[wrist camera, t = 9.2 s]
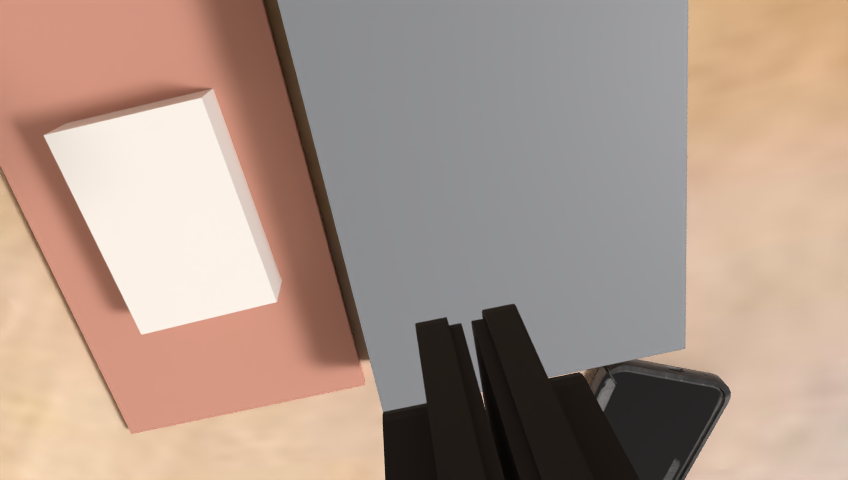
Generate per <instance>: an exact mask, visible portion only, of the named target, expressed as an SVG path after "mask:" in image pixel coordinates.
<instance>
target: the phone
mask: <svg viewBox="0 0 848 480" xmlns="http://www.w3.org/2000/svg"><path fill="white" fill-rule="evenodd" d="M668 369H672V370H668ZM673 370H677V371H673ZM678 371H681V372H678ZM704 374H705V375H707V376H705V375H704ZM590 388H591V390H592V392H593V394H594V395H595V397H596V399H597V401H598V403H599V405H600V407H601V408H602V410H603V412H604V414H605V416H606V418H607V420H608V422H609V423H610V425H611V427H612V429H613V431H614V433H615V435H616V436H617V438H618V440H619V442H620V444H621V446H622V448H623V450H624V451H625V453H626V455H627V457H628V459H629V461H630V463H631V465H632V466H633V468H634V470H635V472H636V474H637V476H638V478H639V479H640V480H684V479H685V478H686V476H687V474H688V472H689V471H690V469H691V467H692V465H693V464H694V462H695V460H696V458H697V457H698V455H699V453H700V451H701V450H702V448H703V446H704V444H705V443H706V441H707V439H708V437H709V436H710V434H711V432H712V430H713V429H714V427H715V425H716V423H717V422H718V420H719V418H720V416H721V415H722V413H723V411H724V409H725V408H726V406H727V404H728V402H729V400H730V396H731V392H730V390H729V387H728V386H727V385H726V384H725V383H724V382H723V381H722V380H721V378H719V377H718V376H717V375H715V374H712V373H706V372H701V371H696V370H690V369H685V368H680V367H674V366H669V365H664V364H658V363H653V362H648V361H642V360H637V359H634V360H629V361H625V362H620V363H615V364H610V365H606V366H601V367H599V369H598V370H597V372H596V374H595V377H594V379H593V381H592V383H591V385H590Z"/></svg>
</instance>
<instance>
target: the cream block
mask: <svg viewBox="0 0 848 480" xmlns="http://www.w3.org/2000/svg"><path fill="white" fill-rule="evenodd" d="M44 138H45V140H46V142H47V144H48V146H49V148H50V150H51V152H52V154H53V156H54V158H55V160H56V162H57V164H58V166H59V168H60V170H61V172H62V174H63V176H64V178H65V180H66V182H67V184H68V186H69V188H70V190H71V192H72V195H73V197H74V199H75V201H76V203H77V205H78V207H79V209H80V211H81V213H82V215H83V217H84V219H85V221H86V223H87V225H88V227H89V229H90V231H91V233H92V235H93V237H94V239H95V241H96V243H97V245H98V247H99V249H100V252H101V254H102V256H103V258H104V260H105V262H106V264H107V266H108V268H109V270H110V272H111V274H112V276H113V278H114V280H115V282H116V284H117V286H118V288H119V290H120V292H121V294H122V296H123V298H124V300H125V302H126V304H127V306H128V309H129V311H130V313H131V315H132V317H133V319H134V321H135V323H136V325H137V327H138V329H139V331H140V333H141V335H143V334H147V333H151V332H155V331H159V330H163V329H167V328H172V327H176V326H180V325H184V324H188V323H192V322H196V321H201V320H205V319H209V318H213V317H217V316H221V315H226V314H230V313H234V312H238V311H242V310H246V309H250V308H255V307H259V306H263V305H267V304H271V303H275V302H277V299H278V295H279V291H280V286H281V282H282V280H281V277H280V274H279V271H278V269H277V266H276V263H275V260H274V257H273V255H272V252H271V249H270V246H269V244H268V241H267V238H266V235H265V232H264V230H263V227H262V224H261V221H260V218H259V216H258V213H257V210H256V207H255V204H254V202H253V199H252V196H251V193H250V190H249V188H248V185H247V182H246V179H245V176H244V174H243V171H242V168H241V165H240V162H239V160H238V157H237V154H236V151H235V148H234V146H233V143H232V140H231V137H230V134H229V132H228V129H227V126H226V123H225V121H224V118H223V115H222V112H221V109H220V107H219V104H218V101H217V98H216V95H215V93H214V90H213V88H212V89H208V90H204V91H199V92H195V93H191V94H187V95H183V96H178V97H174V98H170V99H166V100H162V101H157V102H153V103H149V104H145V105H141V106H136V107H132V108H128V109H124V110H120V111H115V112H111V113H107V114H103V115H98V116H94V117H90V118H86V119H82V120H77V121H73V122H69V123H66V124H64V125H62V126H60V127H58V128H56V129H54V130H53V131H51V132H49V133H47V134H45V135H44Z"/></svg>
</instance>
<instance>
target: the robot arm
mask: <svg viewBox="0 0 848 480" xmlns="http://www.w3.org/2000/svg"><path fill="white" fill-rule="evenodd" d="M482 318H483V319H478V320H473V321H471V324H472V331H473V337H474V343H475V349H476V355H477V361H478V367H479V373H480V379H481V386H482V392H483V398H484V403H483V400H482V396H481V392H480V389H479V385H478V381H477V378H476V374H475V371H474V367H473V363H472V360H471V356H470V352H469V349H468V345H467V342H466V338H465V334H464V331H463V327H462V324H461V323H458V324H453V325H449V324H448V320H447V317H444V318H439V319H434V320H429V321H424V322H419V323H415V328H416V334H417V341H418V348H419V355H420V361H421V368H422V375H423V382H424V388H425V395H426V402H427V403H425V404H420V405H415V406H410V407H405V408H400V409H395V410H390V411H385V412H383V438H384V459H385V480H640V479H639V478H638V476H637V474H636V472H635V470H634V468H633V466H632V465H631V463H630V461H629V459H628V457H627V455H626V453H625V451H624V450H623V448H622V446H621V444H620V442H619V440H618V438H617V436H616V435H615V433H614V431H613V429H612V427H611V425H610V423H609V422H608V420H607V418H606V416H605V414H604V412H603V410H602V408H601V407H600V405H599V403H598V401H597V399H596V397H595V395H594V394H593V392H592V390H591V388H590V386H589V384H588V382H587V381H586V379H585V378H584V376H583V375H582V374H581V373H580V372H579V373H574V374H569V375H564V376H559V377H554V378H548V376H547V374H546V372H545V370H544V367H543V365H542V363H541V361H540V358H539V356H538V354H537V352H536V349H535V347H534V345H533V343H532V340H531V338H530V336H529V334H528V332H527V329H526V327H525V325H524V323H523V320H522V318H521V316H520V314H519V311H518V309H517V307H516V305H515V304H509V305H504V306H499V307H494V308H489V309H484V310H482ZM484 404H485V407H484Z"/></svg>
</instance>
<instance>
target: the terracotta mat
mask: <svg viewBox="0 0 848 480" xmlns="http://www.w3.org/2000/svg"><path fill="white" fill-rule="evenodd" d="M212 88H213V90H214V93H215V95H216V98H217V101H218V104H219V107H220V109H221V112H222V115H223V118H224V121H225V123H226V126H227V129H228V132H229V134H230V137H231V140H232V143H233V146H234V148H235V151H236V154H237V157H238V160H239V162H240V165H241V168H242V171H243V174H244V176H245V179H246V182H247V185H248V188H249V190H250V193H251V196H252V199H253V202H254V204H255V207H256V210H257V213H258V216H259V218H260V221H261V224H262V227H263V230H264V232H265V235H266V238H267V241H268V244H269V246H270V249H271V252H272V255H273V257H274V260H275V263H276V266H277V269H278V271H279V274H280V277H281V280H282V282H281V286H280V291H279V295H278V299H277V302H275V303H271V304H267V305H263V306H259V307H255V308H250V309H246V310H242V311H238V312H234V313H230V314H226V315H221V316H217V317H213V318H209V319H205V320H201V321H196V322H192V323H188V324H184V325H180V326H176V327H172V328H167V329H163V330H159V331H155V332H151V333H147V334H143V335H141V333H140V331H139V329H138V327H137V325H136V323H135V321H134V319H133V317H132V315H131V313H130V311H129V309H128V306H127V304H126V302H125V300H124V298H123V296H122V294H121V292H120V290H119V288H118V286H117V284H116V282H115V280H114V278H113V276H112V274H111V272H110V270H109V268H108V266H107V264H106V262H105V260H104V258H103V256H102V254H101V252H100V249H99V247H98V245H97V243H96V241H95V239H94V237H93V235H92V233H91V231H90V229H89V227H88V225H87V223H86V221H85V219H84V217H83V215H82V213H81V211H80V209H79V207H78V205H77V203H76V201H75V199H74V197H73V195H72V192H71V190H70V188H69V186H68V184H67V182H66V180H65V178H64V176H63V174H62V172H61V170H60V168H59V166H58V164H57V162H56V160H55V158H54V156H53V154H52V152H51V150H50V148H49V146H48V144H47V142H46V140H45V138H44V135H45V134H47V133H49V132H51V131H53V130H54V129H56V128H58V127H60V126H62V125H64V124H66V123H69V122H73V121H77V120H82V119H86V118H90V117H94V116H98V115H103V114H107V113H111V112H115V111H120V110H124V109H128V108H132V107H136V106H141V105H145V104H149V103H153V102H157V101H162V100H166V99H170V98H174V97H178V96H183V95H187V94H191V93H195V92H199V91H204V90H208V89H212ZM0 166H1V168H2V170H3V172H4V175H5V177H6V179H7V181H8V183H9V185H10V187H11V189H12V191H13V193H14V195H15V197H16V199H17V201H18V203H19V205H20V207H21V209H22V211H23V213H24V215H25V217H26V219H27V222H28V224H29V226H30V228H31V230H32V232H33V234H34V236H35V238H36V240H37V242H38V244H39V246H40V248H41V250H42V252H43V254H44V256H45V258H46V260H47V262H48V264H49V267H50V269H51V271H52V273H53V275H54V277H55V279H56V281H57V283H58V285H59V287H60V289H61V291H62V293H63V295H64V297H65V299H66V301H67V303H68V305H69V307H70V309H71V311H72V314H73V316H74V318H75V320H76V322H77V324H78V326H79V328H80V330H81V332H82V334H83V336H84V338H85V340H86V342H87V344H88V346H89V348H90V350H91V352H92V354H93V356H94V359H95V361H96V363H97V365H98V367H99V369H100V371H101V373H102V375H103V377H104V379H105V381H106V383H107V385H108V387H109V389H110V391H111V393H112V395H113V397H114V399H115V401H116V403H117V406H118V408H119V410H120V412H121V414H122V416H123V418H124V420H125V422H126V424H127V426H128V428H129V430H130V432H131V434H133V433H138V432H143V431H148V430H152V429H157V428H162V427H167V426H172V425H176V424H181V423H186V422H191V421H195V420H200V419H205V418H210V417H214V416H219V415H224V414H229V413H234V412H238V411H243V410H248V409H253V408H257V407H262V406H267V405H272V404H277V403H281V402H286V401H291V400H296V399H300V398H305V397H310V396H315V395H319V394H324V393H329V392H334V391H339V390H343V389H348V388H353V387H358V386H362V385H365V379H364V376H363V372H362V368H361V364H360V361H359V357H358V353H357V349H356V345H355V342H354V338H353V334H352V330H351V327H350V323H349V319H348V315H347V312H346V308H345V304H344V300H343V297H342V293H341V289H340V285H339V282H338V278H337V274H336V270H335V267H334V263H333V259H332V255H331V252H330V248H329V244H328V240H327V237H326V233H325V229H324V225H323V222H322V218H321V214H320V210H319V207H318V203H317V199H316V195H315V192H314V188H313V184H312V180H311V177H310V173H309V169H308V165H307V162H306V158H305V154H304V150H303V147H302V143H301V139H300V135H299V131H298V128H297V124H296V120H295V116H294V113H293V109H292V105H291V101H290V98H289V94H288V90H287V86H286V83H285V79H284V75H283V71H282V68H281V64H280V60H279V56H278V53H277V49H276V45H275V41H274V38H273V34H272V30H271V26H270V23H269V19H268V15H267V11H266V8H265V4H264V0H0Z"/></svg>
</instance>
